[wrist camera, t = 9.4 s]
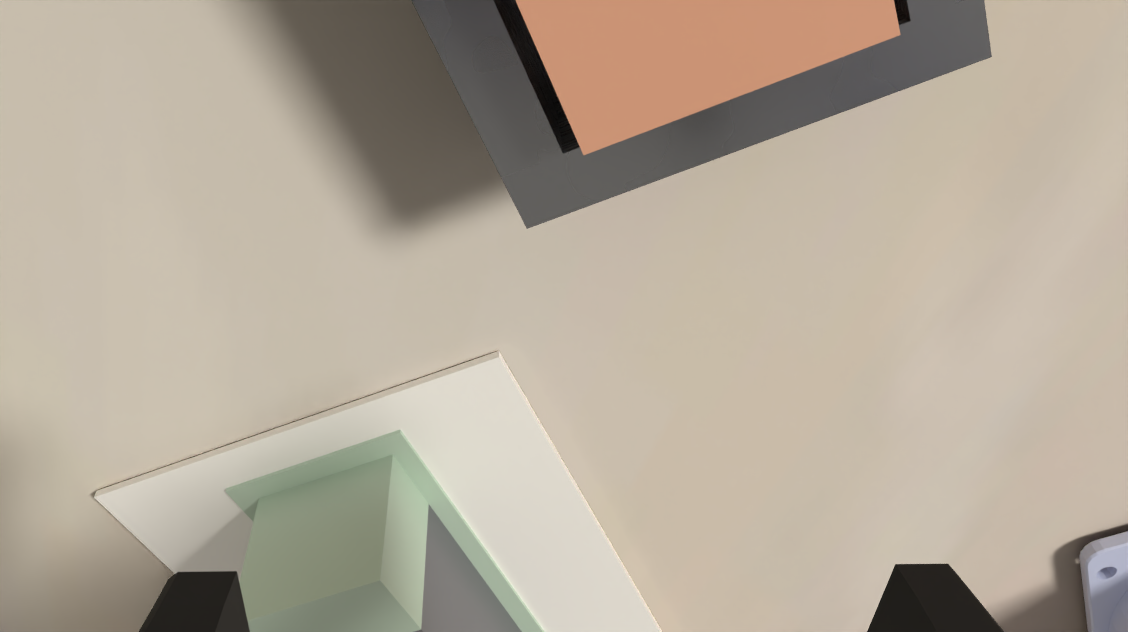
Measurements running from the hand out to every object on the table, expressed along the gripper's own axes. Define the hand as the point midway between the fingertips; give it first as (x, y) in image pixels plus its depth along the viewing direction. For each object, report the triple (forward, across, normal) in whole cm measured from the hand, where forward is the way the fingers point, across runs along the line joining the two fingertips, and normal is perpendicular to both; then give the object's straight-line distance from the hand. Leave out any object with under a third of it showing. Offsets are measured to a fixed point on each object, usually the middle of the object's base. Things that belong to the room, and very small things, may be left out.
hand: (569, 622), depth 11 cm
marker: (+9, +2, +12) cm, 15 cm away
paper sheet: (+9, +2, +12) cm, 15 cm away
